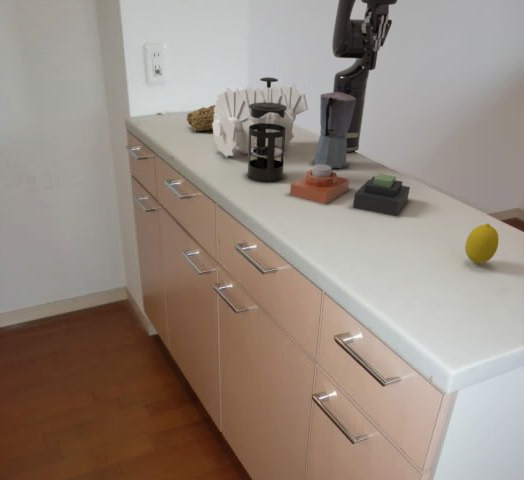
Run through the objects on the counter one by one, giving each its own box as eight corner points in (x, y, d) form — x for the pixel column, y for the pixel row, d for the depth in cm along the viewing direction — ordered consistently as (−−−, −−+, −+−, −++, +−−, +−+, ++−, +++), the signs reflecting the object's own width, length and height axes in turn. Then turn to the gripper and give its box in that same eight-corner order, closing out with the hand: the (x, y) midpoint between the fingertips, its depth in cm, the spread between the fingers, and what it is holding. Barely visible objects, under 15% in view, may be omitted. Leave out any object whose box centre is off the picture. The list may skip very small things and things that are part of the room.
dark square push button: (366, 193, 133) (369, 172, 131) (407, 201, 130) (411, 180, 127) (352, 208, 125) (355, 186, 122) (396, 216, 122) (400, 194, 119)
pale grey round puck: (317, 171, 133) (318, 163, 132) (333, 175, 131) (334, 166, 130) (308, 176, 130) (309, 167, 129) (325, 180, 128) (325, 171, 127)
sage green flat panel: (377, 180, 127) (378, 173, 126) (394, 183, 126) (395, 176, 125) (372, 185, 124) (374, 178, 123) (390, 188, 123) (391, 181, 122)
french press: (288, 182, 138) (295, 82, 125) (252, 184, 136) (254, 82, 122) (276, 168, 147) (281, 73, 134) (242, 169, 145) (243, 73, 132)
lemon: (456, 257, 106) (466, 218, 101) (484, 257, 106) (495, 218, 101) (467, 271, 101) (478, 230, 96) (496, 270, 102) (509, 230, 97)
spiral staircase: (211, 168, 158) (282, 152, 169) (239, 155, 143) (315, 139, 154) (193, 101, 154) (268, 89, 164) (220, 81, 138) (300, 69, 149)
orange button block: (314, 182, 139) (315, 164, 136) (348, 190, 135) (350, 171, 132) (289, 195, 131) (291, 176, 128) (325, 204, 127) (327, 184, 124)
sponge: (198, 138, 173) (255, 121, 177) (190, 112, 169) (249, 95, 173) (187, 136, 184) (241, 119, 188) (180, 111, 180) (236, 95, 184)
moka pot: (352, 160, 156) (362, 82, 144) (341, 176, 144) (350, 93, 132) (320, 155, 158) (327, 79, 146) (305, 171, 146) (312, 89, 134)
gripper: (386, -23, 107) (372, 76, 117) (411, -24, 116) (396, 67, 126) (351, -25, 110) (341, 71, 120) (378, -26, 119) (366, 63, 129)
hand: (369, 69), depth 123 cm, fingers closed
